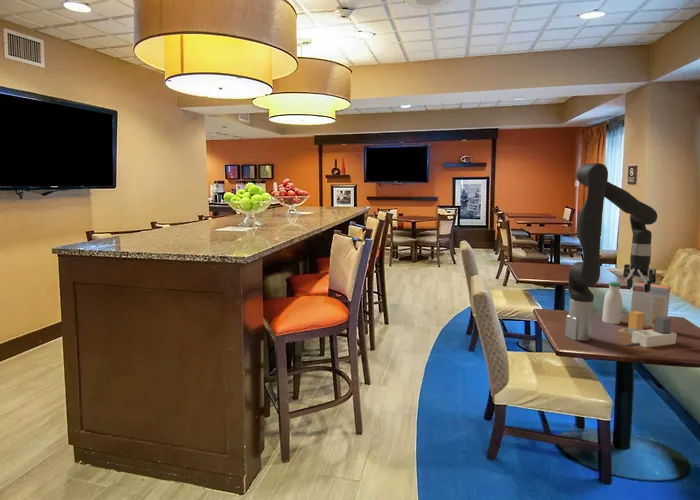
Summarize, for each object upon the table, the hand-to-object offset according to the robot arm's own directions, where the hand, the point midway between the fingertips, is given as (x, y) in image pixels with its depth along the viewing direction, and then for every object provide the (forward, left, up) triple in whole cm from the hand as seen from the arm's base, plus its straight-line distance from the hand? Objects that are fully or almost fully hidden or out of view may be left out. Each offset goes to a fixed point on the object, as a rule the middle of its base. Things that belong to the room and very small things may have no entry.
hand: (638, 289), depth 207 cm
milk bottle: (+5, +18, -21) cm, 28 cm away
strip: (-5, -11, -21) cm, 24 cm away
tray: (0, 0, -21) cm, 21 cm away
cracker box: (+14, +6, -21) cm, 26 cm away
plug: (0, 0, -20) cm, 20 cm away
